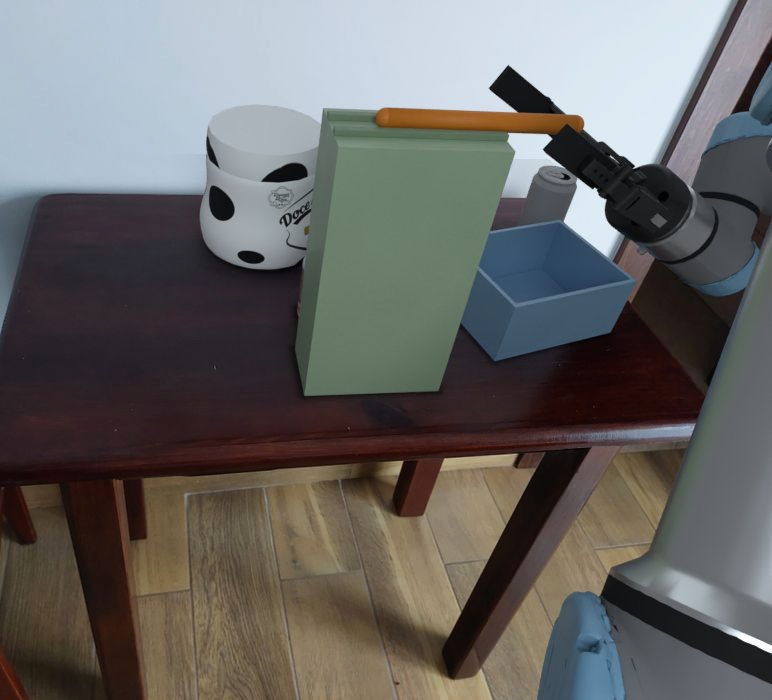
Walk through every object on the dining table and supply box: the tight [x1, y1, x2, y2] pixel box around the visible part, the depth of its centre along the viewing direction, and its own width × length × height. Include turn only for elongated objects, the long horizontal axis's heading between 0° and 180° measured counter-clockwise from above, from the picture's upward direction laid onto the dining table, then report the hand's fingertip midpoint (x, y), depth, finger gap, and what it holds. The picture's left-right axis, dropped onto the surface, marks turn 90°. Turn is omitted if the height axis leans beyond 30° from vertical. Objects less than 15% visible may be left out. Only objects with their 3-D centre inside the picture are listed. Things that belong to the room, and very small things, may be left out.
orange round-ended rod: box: [375, 107, 585, 135], centre depth 61 cm, size 20×2×2 cm, turn 98°
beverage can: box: [515, 165, 578, 227], centre depth 103 cm, size 6×6×12 cm
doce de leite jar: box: [199, 104, 321, 272], centre depth 92 cm, size 17×17×18 cm
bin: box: [460, 220, 638, 362], centre depth 90 cm, size 15×19×9 cm
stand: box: [294, 107, 516, 397], centre depth 71 cm, size 16×8×31 cm, turn 98°
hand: (525, 105), depth 61 cm, fingers open, 13 cm apart
